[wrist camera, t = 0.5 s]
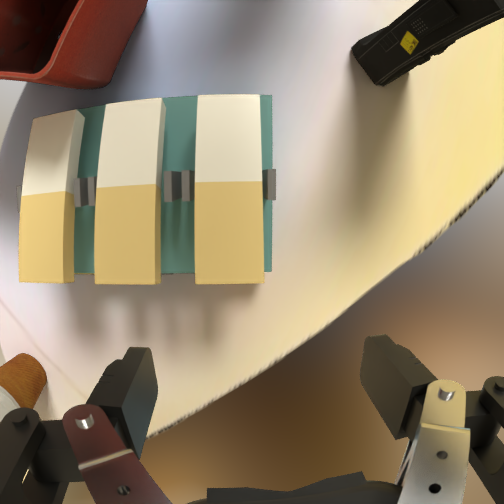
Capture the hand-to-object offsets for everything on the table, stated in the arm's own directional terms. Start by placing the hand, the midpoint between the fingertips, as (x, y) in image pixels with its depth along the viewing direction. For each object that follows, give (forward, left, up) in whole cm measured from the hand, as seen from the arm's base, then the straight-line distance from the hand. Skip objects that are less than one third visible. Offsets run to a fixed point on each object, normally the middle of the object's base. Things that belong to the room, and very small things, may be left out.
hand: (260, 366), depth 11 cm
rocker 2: (-6, -9, -16) cm, 19 cm away
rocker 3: (-6, -1, -15) cm, 16 cm away
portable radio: (-22, +17, -25) cm, 38 cm away
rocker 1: (-6, -17, -16) cm, 24 cm away
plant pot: (-26, -19, -25) cm, 41 cm away
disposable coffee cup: (+20, -33, -25) cm, 46 cm away
